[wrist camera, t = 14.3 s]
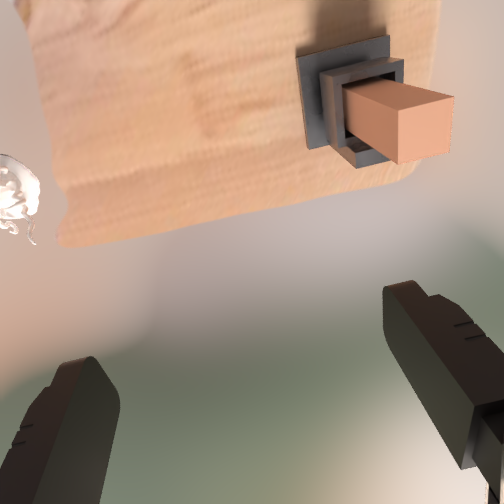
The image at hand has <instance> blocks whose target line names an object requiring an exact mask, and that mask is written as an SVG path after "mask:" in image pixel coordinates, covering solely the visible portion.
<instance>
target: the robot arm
mask: <svg viewBox="0 0 504 504" xmlns="http://www.w3.org/2000/svg"><path fill="white" fill-rule="evenodd" d="M382 295H383V330H384V335H385V338H386V341H387V344H388V346H389V348H390V350H391V352H392V354H393V355H394V357H395V359H396V360H397V362H398V364H399V366H400V367H401V369H402V371H403V372H404V374H405V376H406V377H407V379H408V381H409V382H410V384H411V386H412V388H413V389H414V391H415V393H416V394H417V396H418V398H419V400H420V401H421V403H422V405H423V406H424V408H425V410H426V411H427V413H428V415H429V417H430V418H431V420H432V422H433V423H434V425H435V427H436V429H437V430H438V432H439V434H440V435H441V437H442V439H443V440H444V442H445V444H446V446H447V447H448V449H449V451H450V452H451V454H452V456H453V457H454V459H455V461H456V462H457V464H458V466H459V468H460V469H461V470H463V469H467V468H472V467H476V466H477V467H478V468H479V469H480V472H481V473H482V475H483V476H484V478H485V479H486V481H487V483H486V494H485V504H504V353H503V352H502V351H501V350H500V349H499V348H498V347H497V345H496V344H494V342H493V341H492V340H491V339H490V338H489V337H486V335H485V333H484V332H483V330H482V329H481V328H480V327H479V326H478V325H477V324H474V322H473V320H472V319H471V318H470V317H469V315H467V313H466V312H465V311H464V310H463V309H462V308H461V307H460V306H459V305H457V304H456V303H454V302H452V301H450V300H449V299H447V298H445V297H443V296H441V295H439V294H438V295H433V296H429V297H428V295H427V294H426V293H425V292H424V291H423V289H422V288H421V287H420V286H419V285H418V284H417V283H416V282H415V281H413V280H410V281H406V282H402V283H397V284H393V285H389V286H385V287H384V288H383V294H382ZM119 413H120V399H119V395H118V392H117V390H116V388H115V386H114V385H113V383H112V382H111V380H110V379H109V377H108V376H107V374H106V373H105V371H104V370H103V369H102V367H101V365H100V364H99V362H98V361H97V360H96V359H95V358H94V357H92V356H89V357H85V358H81V359H77V360H73V361H68V362H65V363H62V364H61V365H60V366H59V367H58V369H57V372H56V374H55V376H54V379H53V381H52V383H51V385H50V386H49V387H45V388H44V389H43V390H42V392H41V393H40V394H39V395H38V397H37V398H36V399H35V400H34V401H33V403H32V404H31V405H30V406H29V408H28V410H27V413H26V414H25V417H24V419H23V421H22V423H21V425H20V431H18V432H17V434H16V436H15V438H14V440H13V442H12V448H11V449H9V451H8V453H7V455H6V457H5V459H4V461H3V464H2V466H1V468H0V504H99V502H100V498H101V494H102V489H103V485H104V480H105V476H106V471H107V467H108V462H109V458H110V453H111V448H112V444H113V440H114V435H115V431H116V426H117V422H118V418H119Z"/></svg>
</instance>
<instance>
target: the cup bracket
mask: <svg viewBox="0 0 504 504" xmlns="http://www.w3.org/2000/svg"><path fill="white" fill-rule="evenodd" d="M296 64H297V72H298V80H299V87H300V95H301V103H302V111H303V119H304V127H305V134H306V142H307V148H308V149H309V150H310V149H314V148H318V147H322V146H326V145H330V146H331V147H332V148H333V149H335V150H336V151H337V152H338V153H339V154H340V155H341V156H342V157H344V158H345V159H346V160H347V161H348V162H349V163H350V164H351V165H352V166H354V167H355V168H356V169H357V168H361V167H366V166H370V165H374V164H378V163H382V162H386V161H390V159H389V158H387V157H386V156H384V155H383V154H381V153H380V152H378V151H377V150H376V149H374V148H373V147H371V146H370V145H368V144H367V143H365V142H364V141H362V140H361V139H359V138H358V137H356V136H355V135H354V134H352V133H351V132H349V131H348V130H346V129H345V128H344V115H343V101H342V86H341V84H345V83H349V82H353V81H357V80H361V79H365V78H369V77H373V76H375V77H379V78H383V79H387V80H391V81H395V82H399V83H403V77H404V59H398V58H390V35H384V36H380V37H376V38H372V39H368V40H364V41H360V42H356V43H352V44H348V45H344V46H340V47H336V48H332V49H328V50H324V51H320V52H316V53H312V54H308V55H304V56H300V57H296Z"/></svg>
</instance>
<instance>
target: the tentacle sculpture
mask: <svg viewBox="0 0 504 504" xmlns="http://www.w3.org/2000/svg"><path fill="white" fill-rule="evenodd" d="M39 186H40V182H39V179H38V178H37V177H36V176H35V175H34V174H33V173H32V172H31V170H30V169H29V168H28V167H26V166H25V165H24V164H23V163H21V162H20V161H18V160H16V159H15V158H13V157H11V156H9V155H5V154H0V219H3V218H4V219H20V218H25V219H26V220H27V221H28V223H29V228H28V230H27V236H28V238H29V240H30V241H31V242H32V243H33V244H34V245H36V243H35V241H34V240H33V238H32V231H33V229H34V227H35V223H34V221H33V219H32V218H31V217H30V216H29V215H33V214H35V213H36V212H37V208H38V205H39V199H38V196H39V194H40V187H39ZM9 226H11V227H13V228H14V230H15V231H9V232H10V233H13V234H17V233H18V232H19V229H18V227H17V226H16V225H15V224H14V223H13V222H11V221H6V222H5V223H2V222H1V221H0V228H3V229H7V228H9Z"/></svg>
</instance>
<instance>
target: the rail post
mask: <svg viewBox="0 0 504 504" xmlns="http://www.w3.org/2000/svg"><path fill="white" fill-rule="evenodd" d="M341 86H342V101H343V115H344V128H345V129H346V130H348V131H349V132H351V133H352V134H354V135H355V136H356V137H358V138H359V139H361V140H362V141H364V142H365V143H367V144H368V145H370V146H371V147H373V148H374V149H376V150H377V151H378V152H380V153H381V154H383V155H384V156H386V157H387V158H389V159H390V160H392V161H393V162H395V163H396V164H398V165H399V164H403V163H407V162H411V161H415V160H419V159H423V158H427V157H431V156H435V155H439V154H443V153H447V152H449V151H450V140H451V128H452V116H453V105H454V96H449V95H445V94H442V93H438V92H434V91H430V90H426V89H422V88H418V87H414V86H411V85H407V84H403V83H399V82H395V81H391V80H387V79H383V78H379V77H375V76H373V77H369V78H365V79H361V80H357V81H353V82H349V83H345V84H341Z"/></svg>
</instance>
